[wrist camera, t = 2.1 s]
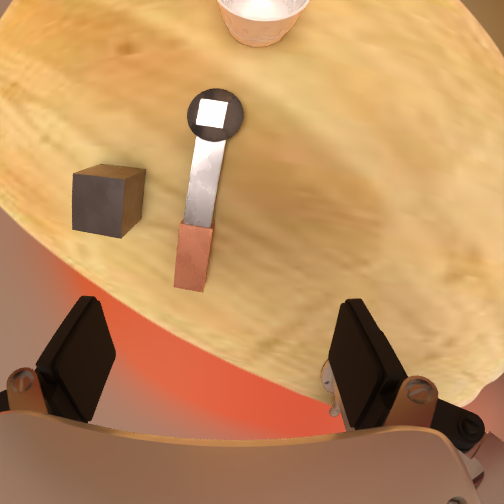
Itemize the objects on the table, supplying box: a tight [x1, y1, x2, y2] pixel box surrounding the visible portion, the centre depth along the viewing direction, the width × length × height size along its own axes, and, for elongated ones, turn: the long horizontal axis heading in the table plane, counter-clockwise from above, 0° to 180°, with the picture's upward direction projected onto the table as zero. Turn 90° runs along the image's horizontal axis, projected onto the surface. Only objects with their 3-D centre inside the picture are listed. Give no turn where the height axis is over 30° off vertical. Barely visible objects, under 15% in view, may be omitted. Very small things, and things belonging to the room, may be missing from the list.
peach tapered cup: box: [217, 0, 310, 47], centre depth 20 cm, size 8×8×10 cm
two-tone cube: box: [72, 164, 146, 238], centre depth 29 cm, size 6×6×6 cm
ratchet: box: [174, 88, 243, 292], centre depth 30 cm, size 23×6×6 cm, turn 169°
